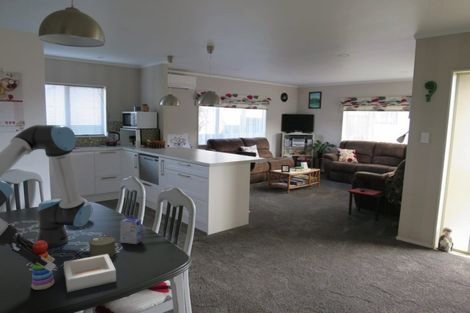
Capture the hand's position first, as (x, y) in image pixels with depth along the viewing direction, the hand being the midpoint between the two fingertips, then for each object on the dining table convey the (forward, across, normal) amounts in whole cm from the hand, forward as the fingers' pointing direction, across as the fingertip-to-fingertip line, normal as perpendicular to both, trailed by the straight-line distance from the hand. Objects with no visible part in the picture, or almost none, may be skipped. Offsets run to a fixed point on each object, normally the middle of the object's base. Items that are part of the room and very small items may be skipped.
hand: (52, 265), depth 132 cm
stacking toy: (+3, 0, -8) cm, 9 cm away
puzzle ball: (+19, -80, +7) cm, 83 cm away
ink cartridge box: (+33, -31, +21) cm, 50 cm away
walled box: (+15, +1, +4) cm, 16 cm away
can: (+22, -22, +10) cm, 32 cm away
